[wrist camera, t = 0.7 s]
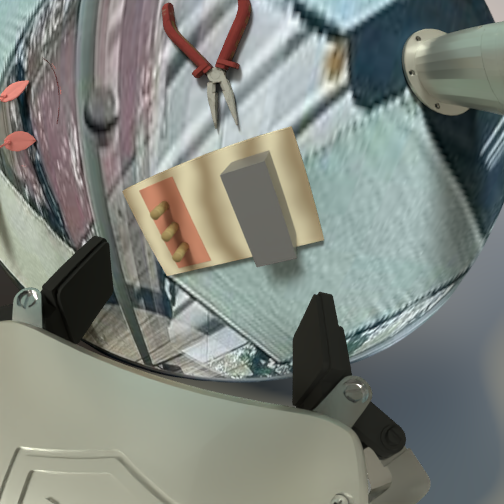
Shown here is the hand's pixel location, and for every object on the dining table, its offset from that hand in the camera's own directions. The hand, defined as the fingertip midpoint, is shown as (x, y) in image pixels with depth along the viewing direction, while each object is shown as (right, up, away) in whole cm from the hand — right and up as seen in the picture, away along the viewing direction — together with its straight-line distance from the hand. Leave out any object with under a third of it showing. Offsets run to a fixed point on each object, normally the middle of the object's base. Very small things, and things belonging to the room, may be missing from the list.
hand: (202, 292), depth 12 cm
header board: (-2, +8, +27) cm, 28 cm away
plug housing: (+4, +9, +24) cm, 26 cm away
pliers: (-4, +28, +16) cm, 32 cm away
